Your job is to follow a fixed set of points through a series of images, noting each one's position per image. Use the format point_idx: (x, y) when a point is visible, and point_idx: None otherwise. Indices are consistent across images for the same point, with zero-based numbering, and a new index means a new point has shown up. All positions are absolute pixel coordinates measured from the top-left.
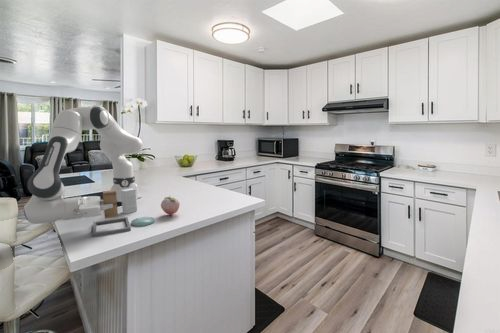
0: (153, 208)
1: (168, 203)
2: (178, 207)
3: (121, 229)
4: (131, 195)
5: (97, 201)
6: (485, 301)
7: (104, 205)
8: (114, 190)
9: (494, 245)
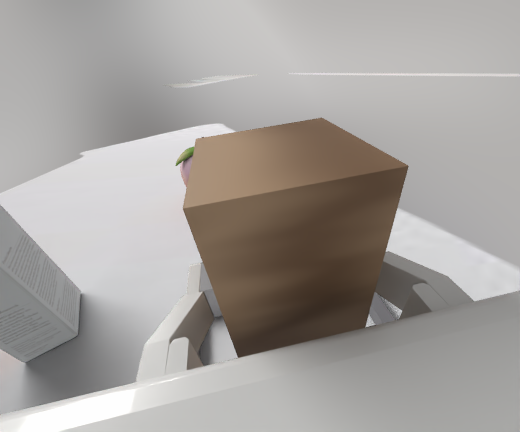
0: (103, 242)
1: None
2: None
3: (379, 298)
4: (14, 241)
5: (352, 367)
6: (497, 74)
7: (431, 273)
8: (226, 137)
9: (393, 73)
